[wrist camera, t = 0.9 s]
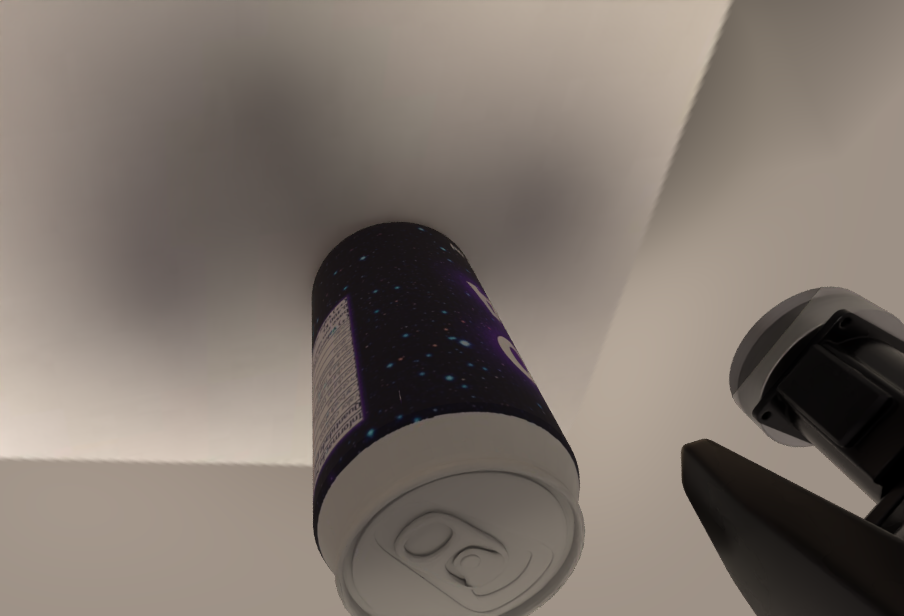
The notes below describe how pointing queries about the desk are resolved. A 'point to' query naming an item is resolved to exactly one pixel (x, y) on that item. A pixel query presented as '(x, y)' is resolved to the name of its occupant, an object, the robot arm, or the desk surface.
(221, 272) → the desk surface
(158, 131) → the desk surface
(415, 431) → the beverage can
